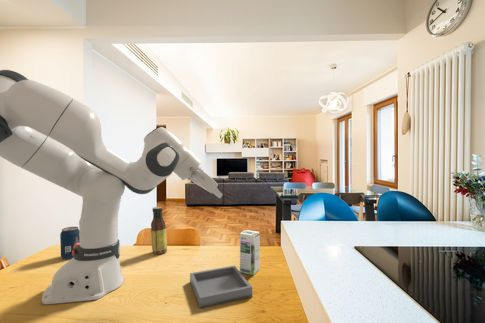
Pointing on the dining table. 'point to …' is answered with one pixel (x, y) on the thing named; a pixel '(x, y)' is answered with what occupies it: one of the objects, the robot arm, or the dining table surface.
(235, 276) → the tray
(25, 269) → the dining table surface
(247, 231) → the syrup box
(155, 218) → the sauce bottle
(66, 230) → the soda can
